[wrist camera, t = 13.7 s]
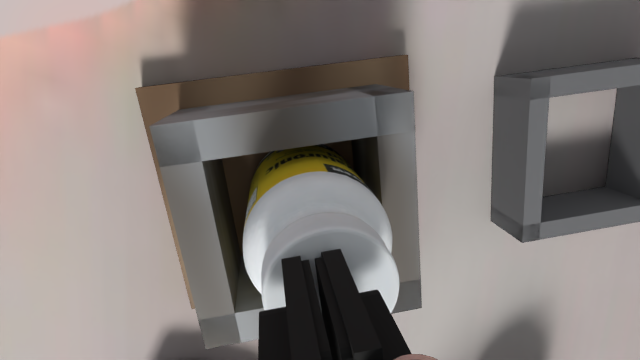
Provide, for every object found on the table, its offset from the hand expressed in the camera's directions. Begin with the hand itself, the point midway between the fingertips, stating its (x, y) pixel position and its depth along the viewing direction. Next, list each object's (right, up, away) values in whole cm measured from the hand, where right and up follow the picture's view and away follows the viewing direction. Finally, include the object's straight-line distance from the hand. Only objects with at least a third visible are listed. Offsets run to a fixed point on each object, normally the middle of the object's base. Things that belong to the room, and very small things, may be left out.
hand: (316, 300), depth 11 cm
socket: (-1, +3, +10) cm, 11 cm away
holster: (+14, +6, +12) cm, 19 cm away
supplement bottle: (-1, +3, +10) cm, 10 cm away
